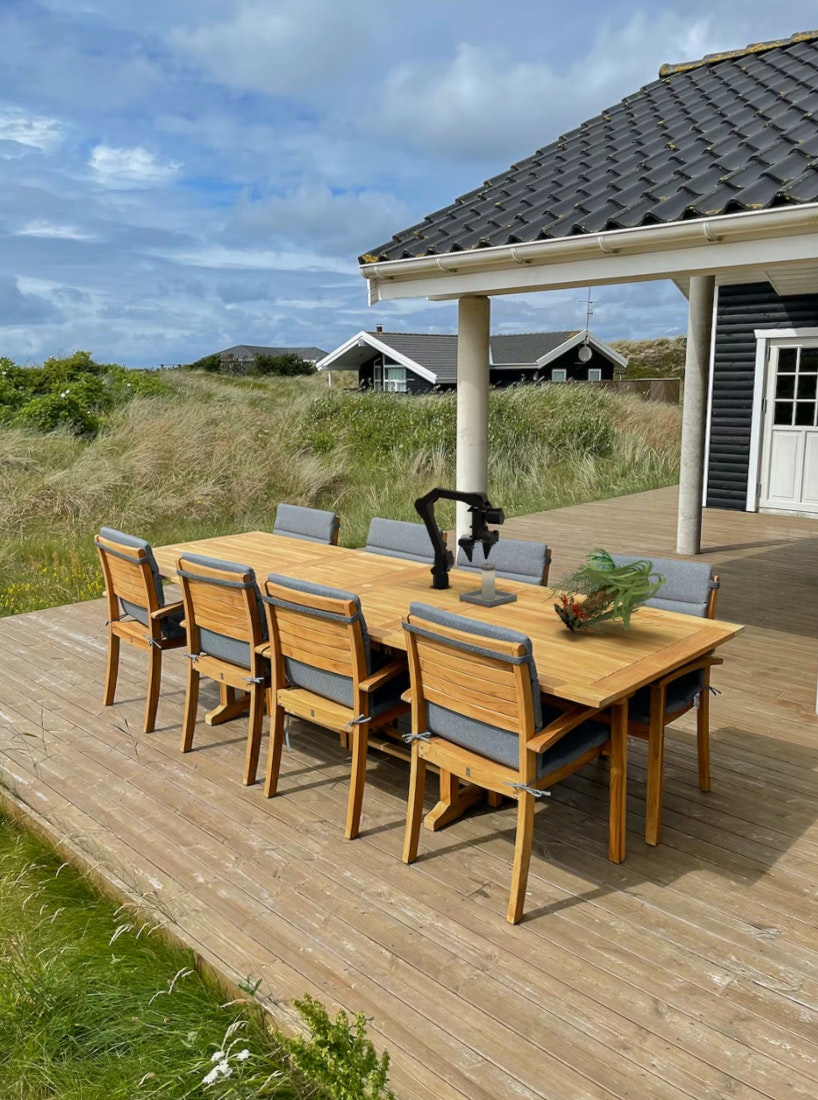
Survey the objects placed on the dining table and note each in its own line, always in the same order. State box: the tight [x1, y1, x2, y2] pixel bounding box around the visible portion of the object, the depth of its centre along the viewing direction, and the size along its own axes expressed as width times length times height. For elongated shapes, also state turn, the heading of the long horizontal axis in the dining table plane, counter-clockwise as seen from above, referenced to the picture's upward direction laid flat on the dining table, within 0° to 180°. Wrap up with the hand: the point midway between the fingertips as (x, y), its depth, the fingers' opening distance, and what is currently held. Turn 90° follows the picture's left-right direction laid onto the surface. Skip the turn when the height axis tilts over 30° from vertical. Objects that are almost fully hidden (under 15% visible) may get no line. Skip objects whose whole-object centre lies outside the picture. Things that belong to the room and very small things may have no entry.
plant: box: [534, 548, 667, 637], centre depth 294 cm, size 35×35×40 cm
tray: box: [459, 588, 518, 609], centre depth 342 cm, size 16×16×2 cm
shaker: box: [481, 563, 496, 600], centre depth 340 cm, size 5×5×14 cm
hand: (478, 560), depth 354 cm, fingers open, 9 cm apart
